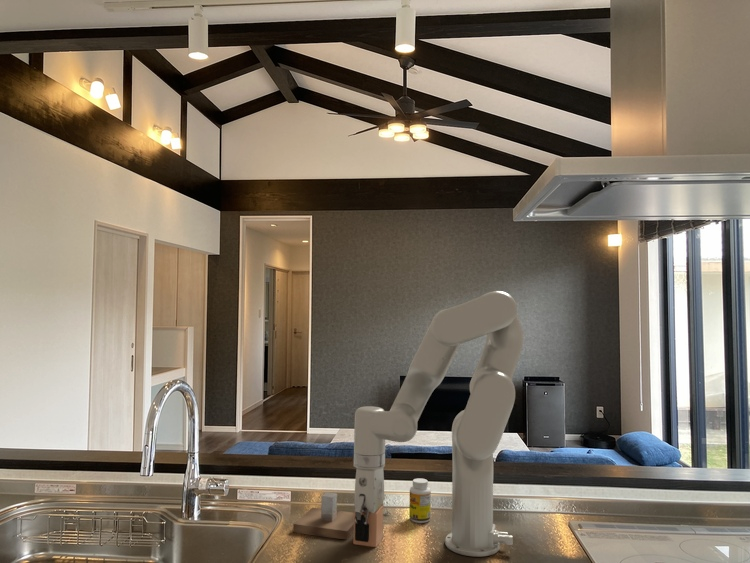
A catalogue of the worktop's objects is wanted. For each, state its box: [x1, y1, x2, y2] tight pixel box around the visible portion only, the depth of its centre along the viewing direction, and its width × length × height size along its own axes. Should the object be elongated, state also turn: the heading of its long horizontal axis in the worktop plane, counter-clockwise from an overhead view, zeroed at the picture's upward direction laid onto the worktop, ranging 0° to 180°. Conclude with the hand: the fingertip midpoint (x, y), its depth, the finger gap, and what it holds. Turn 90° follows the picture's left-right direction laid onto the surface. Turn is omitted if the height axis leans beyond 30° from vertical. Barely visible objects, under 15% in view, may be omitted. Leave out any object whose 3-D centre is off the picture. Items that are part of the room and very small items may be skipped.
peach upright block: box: [352, 506, 384, 548], centre depth 132 cm, size 6×6×8 cm
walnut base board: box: [292, 507, 354, 540], centre depth 140 cm, size 14×12×2 cm
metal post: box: [320, 491, 338, 521], centre depth 140 cm, size 3×3×6 cm
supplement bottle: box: [408, 478, 432, 524], centre depth 145 cm, size 6×6×10 cm
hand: (367, 533), depth 132 cm, fingers open, 8 cm apart
